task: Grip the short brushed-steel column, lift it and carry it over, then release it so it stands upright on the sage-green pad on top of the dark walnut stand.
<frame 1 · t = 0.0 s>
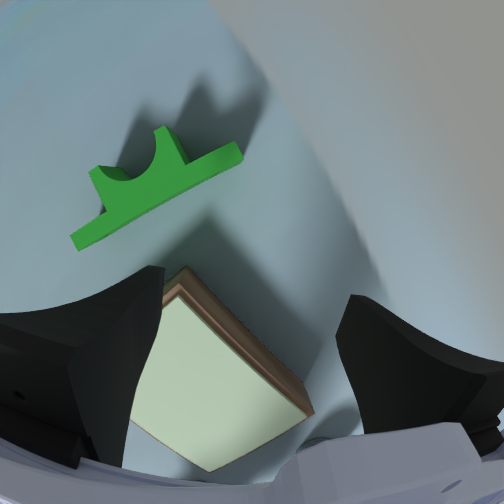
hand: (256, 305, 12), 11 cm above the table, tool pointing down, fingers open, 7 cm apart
walnut stand: (198, 371, 24), on the table
pipe clamp: (158, 178, 21), on the table
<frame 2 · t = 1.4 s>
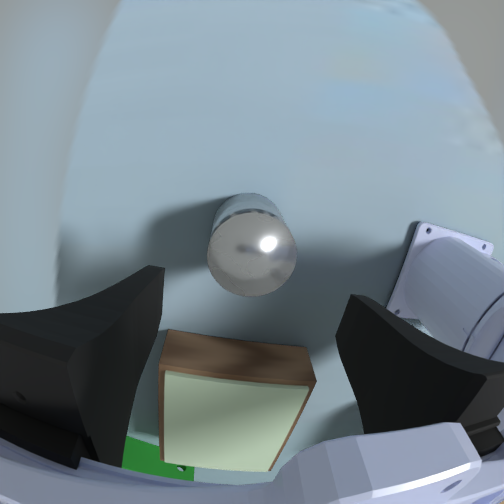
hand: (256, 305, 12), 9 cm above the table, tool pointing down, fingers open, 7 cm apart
walnut stand: (225, 397, 26), on the table
pipe clamp: (146, 447, 30), on the table
steel column: (248, 226, 20), on the table
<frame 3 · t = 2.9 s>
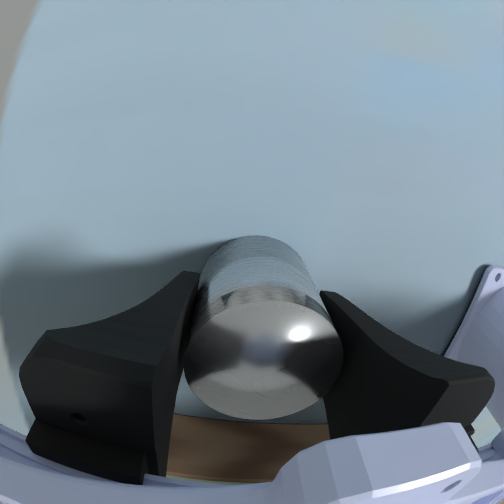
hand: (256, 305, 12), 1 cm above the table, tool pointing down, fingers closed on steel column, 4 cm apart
walnut stand: (226, 472, 19), on the table
steel column: (254, 287, 13), on the table, touching gripper
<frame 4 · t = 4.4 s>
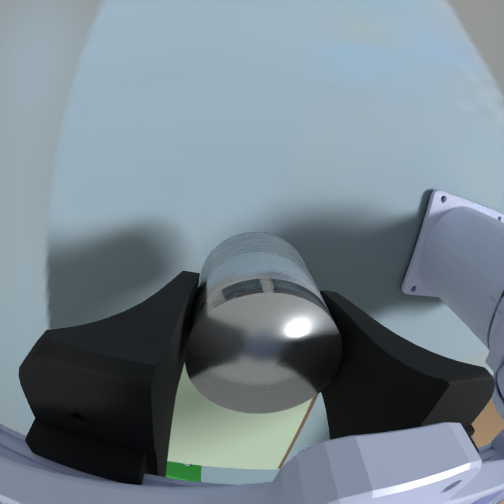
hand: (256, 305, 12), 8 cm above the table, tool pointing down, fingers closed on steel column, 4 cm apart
walnut stand: (230, 388, 24), on the table
pipe clamp: (148, 440, 28), on the table
steel column: (254, 283, 13), point 7 cm above the table, touching gripper
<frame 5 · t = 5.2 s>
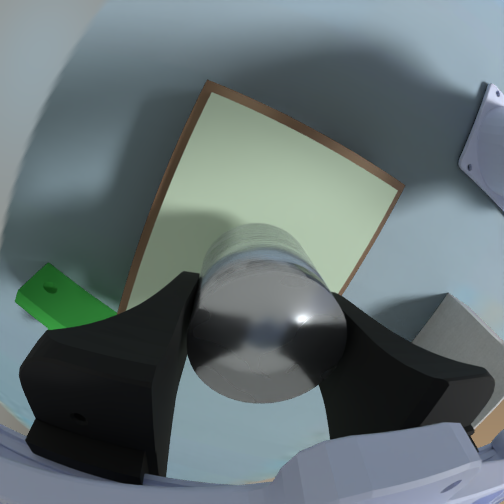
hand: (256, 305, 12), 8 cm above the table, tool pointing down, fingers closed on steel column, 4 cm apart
grey rectangular block: (435, 328, 24), on the table
walnut stand: (247, 233, 19), on the table
pipe clamp: (98, 317, 22), on the table
steel column: (255, 275, 13), point 7 cm above the table, touching gripper
when the fingers open (7 cm above the table, at t = 6.0 s): steel column stays where it is, resting on walnut stand.
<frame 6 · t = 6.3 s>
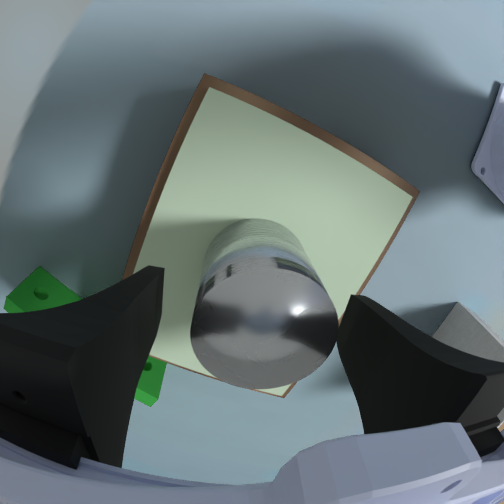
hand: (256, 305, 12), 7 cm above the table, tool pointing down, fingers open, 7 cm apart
grey rectangular block: (443, 338, 22), on the table
walnut stand: (248, 241, 18), on the table
pipe clamp: (93, 324, 20), on the table
steel column: (255, 268, 14), point 4 cm above the table, touching walnut stand
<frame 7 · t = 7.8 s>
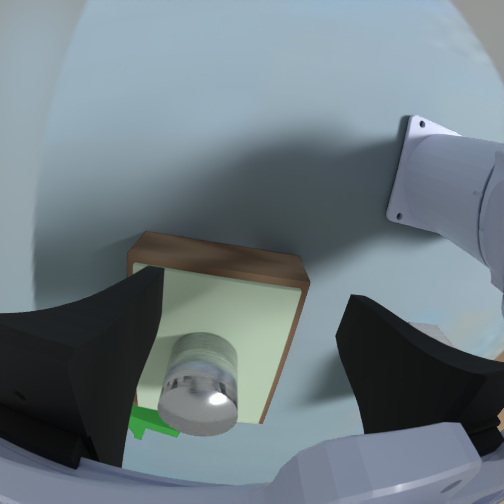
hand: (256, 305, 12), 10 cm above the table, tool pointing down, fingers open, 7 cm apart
grey rectangular block: (407, 350, 27), on the table
walnut stand: (209, 325, 24), on the table
pipe clamp: (128, 386, 28), on the table
steel column: (204, 358, 20), point 4 cm above the table, touching walnut stand
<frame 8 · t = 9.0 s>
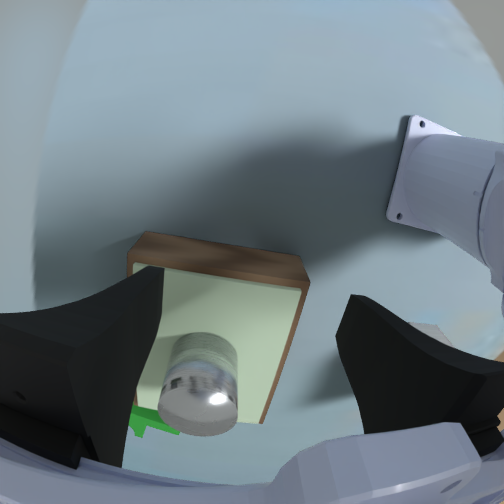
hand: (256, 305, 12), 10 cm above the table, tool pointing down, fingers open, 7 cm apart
grey rectangular block: (407, 350, 27), on the table
walnut stand: (209, 325, 24), on the table
pipe clamp: (129, 383, 27), on the table
steel column: (204, 358, 20), point 4 cm above the table, touching walnut stand
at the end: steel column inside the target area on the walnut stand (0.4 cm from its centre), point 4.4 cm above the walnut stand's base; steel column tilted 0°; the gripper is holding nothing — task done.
